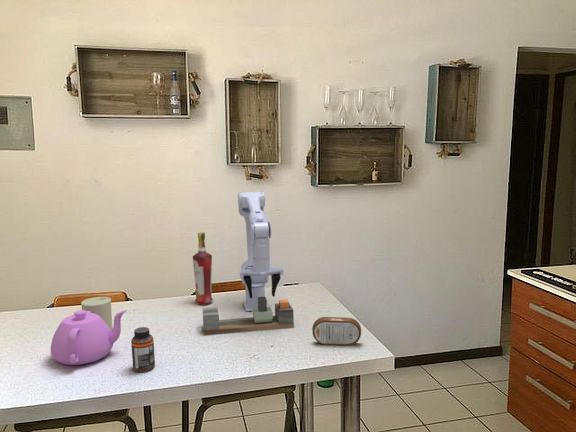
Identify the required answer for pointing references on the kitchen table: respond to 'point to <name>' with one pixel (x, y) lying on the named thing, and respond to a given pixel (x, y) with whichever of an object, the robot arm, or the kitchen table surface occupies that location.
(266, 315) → the carriage
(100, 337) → the teapot
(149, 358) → the supplement bottle
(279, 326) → the rail base
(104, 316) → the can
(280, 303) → the button
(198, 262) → the liquor
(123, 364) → the kitchen table surface
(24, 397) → the kitchen table surface
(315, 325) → the tin
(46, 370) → the kitchen table surface
